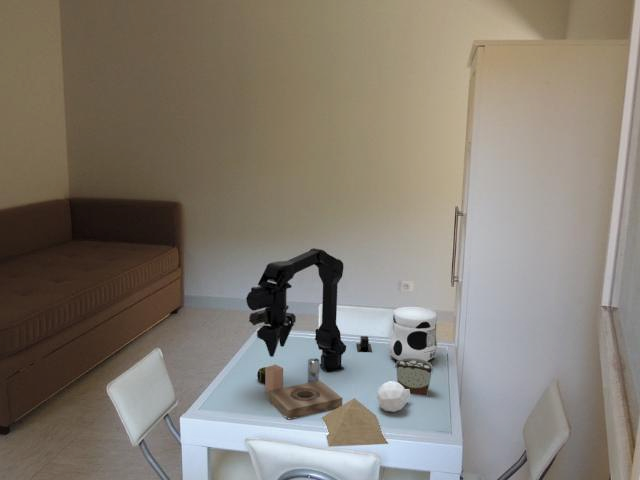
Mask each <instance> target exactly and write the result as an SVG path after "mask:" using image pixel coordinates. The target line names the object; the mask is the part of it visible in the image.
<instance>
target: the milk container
mask: <svg viewBox="0 0 640 480" xmlns="http://www.w3.org/2000/svg"><path fill="white" fill-rule="evenodd" d="M392 317H393V318H392V320H393V321H392V334H391V338H390V342H389V353H390V355H391V357H392V358H393V359H394V360H396V362H397V361H399V360H401V359H406V358H415V359H421V360H425V361H427V362H429V363H430V364H431V362H433V361H434V360H435V359H436V357H437V355H438V342H437V337H436V336H437V335H436V333H437V318H438V317H437V313H436V312H435V311H434V310H432V309H429V308H426V307H422V306H421V307H420V306H401V307H398V308H396V309H395V310H394V311H393V316H392Z"/></svg>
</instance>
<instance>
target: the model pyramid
mask: <svg viewBox="0 0 640 480" xmlns="http://www.w3.org/2000/svg"><path fill="white" fill-rule="evenodd" d="M322 419H323V421H324V422H325V424H326V426H327V429H328V432H329V434H328V435H327V436H326V435H325V438H326V440H327V441H326V442H327V445H328V447H330V448H331V447H349V446H373V445H374V446H375V445H389V442H387V441H388V440H387V441H386V439H387V438H386V439H385V438H384V436H383V434H382V431H381V428H382V427H381V428H380V426H381V424H380V421H379V419H378V418H377V415H376V414H375V413H373V411H371V410H370V409H369V408H367V407H366V406H365V405H364V404H363V403H361V402H360V401H359V400H358V399H357V398H355V397H353V398H352V399H350V400H349V401H347V402H345V403H342V406H340V407H338V408H337V409H333V410H331V411H330V412H328V413H327V414H325V415H323V416H322V418H321V420H322ZM379 424H380V425H379Z"/></svg>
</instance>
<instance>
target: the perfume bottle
mask: <svg viewBox="0 0 640 480" xmlns="http://www.w3.org/2000/svg"><path fill="white" fill-rule="evenodd" d="M408 398H411V394H410V389H405V388H404V387H403V386H402V385H401V384H400V383H398V382H397V381H393V380H392V381H391V380H389V381H386V382H384V383H383V384H382V385H381V386H380V387H379V388H378V389H377V395H376V399H377V402H378V404H379V406H380V407H381V408H382V409H383V410H384V411H385V412H391V413H392V412H393V413H396V412H398V411H400V410H402V409H403V408H404V407H405V406H406V404H407V402H408Z"/></svg>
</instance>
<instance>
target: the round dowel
mask: <svg viewBox="0 0 640 480" xmlns="http://www.w3.org/2000/svg"><path fill="white" fill-rule="evenodd" d="M319 377H320V360H319V358H309V359H308V360H307V383H311V382H316V381H320V380H319V379H320V378H319Z"/></svg>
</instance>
